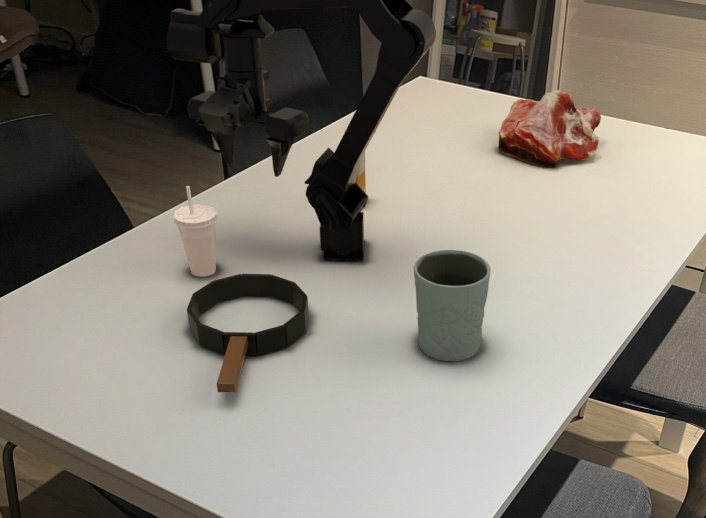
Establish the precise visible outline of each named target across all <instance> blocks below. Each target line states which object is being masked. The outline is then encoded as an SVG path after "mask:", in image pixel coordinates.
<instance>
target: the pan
mask: <svg viewBox="0 0 706 518" xmlns="http://www.w3.org/2000/svg"><path fill="white" fill-rule="evenodd" d="M243 297H267V298H269V297H271V298H274V299H277V300H280V301H282V302H286V303H288V304H291V305H293V306H294V307H295V308H296V309H297V311H299V312H298V313H297V314H295V315H294V316H292V317H291V318H290V319H289V320H287V321H286V322H285V323H283V324H282V325H278V326H274V327H271V328H267V329H263V330H259V331H256V332H242V331H241V332H240V331H239V332H238V331H237V332H236V331H229V332H228V331H223V330H220V329H217V328H215V327H212V326H209V325H206V324H203V323H201V321H200V320H199V319H200V317H201V315H202V314H204V313H205V312H207V311H208V310H210V309H211V308H213V307H214V306H216V305H217V304H218V303H222V302H226V301H230V300H234V299H238V298H243ZM309 313H310V312H309V301H308V295H307V293H305V291H304V290H303V289H302V288H301V287H300V286H299V284H297V283H296V282H295V281H292V280H289V279H286V278H284V277H281V276H277V275H275V274H270V273H238V274H234V275H230V276H226V277H222V278H217V279H214V280H212V281H210V282H208V283H206V284H205V285H204V286H202V287H200V288H199V289H197V290H196V291H195V292H193V293H192V294H191V297H190V300H189V302H188V304H187V308H186V314H187V320H188V327H189V331H190V334H192V336H193V337H194V339H195V341H196V342H197V343H198V345H199V347H201V348H204V349H207V350H209V351H211V352H214V353H217V354H219V355H222V356H223V360H222V364H221V367H220V370H219V374H218V378H217V381H216V390H217V393H232V394H233V393H236V392H237V388H238V383H239V380H240V375H241V373H242V369H243V365H244V361H245V358H246V357H254V358H255V357H261V356H265V355H268V354H272V353H275V352H278V351H282V350H285V349H288V348H289V347H291V346H292V345H293V344H295V343H296V342H297V341H298V340H299V339H300V338H302V337H303V336H304V335H306V334H307V329H308V323H309V318H310V317H309V316H310V315H309Z"/></svg>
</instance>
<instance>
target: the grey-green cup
mask: <svg viewBox="0 0 706 518" xmlns="http://www.w3.org/2000/svg"><path fill="white" fill-rule="evenodd" d="M491 272H492V269H491V266H490V264H489V263H488V261H487V260H486V259H485V258H483V257H482V256H480V255H478V254H476V253H473V252H470V251H466V250H459V249H440V250H435V251H431V252H428V253H425V254H423V255H422V256H420V257H419V258H418V259H416V260H415V263H414V265H413V276H414V277H413V278H414V286H415V298H416V299H415V301H416V303H415V304H416V313H417V317H416V319H417V330H418V331H417V334H418V335H417V337H418V346H419V349H420V350H421V351H422V352H423V354H425V355H426V356H427V357H430V358H431V359H434V360H438V361H443V362H460V361H464V360H468V359H469V358H472V357H473V356H474V355H476V354H477V353H478V352H479V350H480V347H481V342H482V335H483V323H484V317H485V307H486V303H487V299H488V292H489V285H490V277H491Z"/></svg>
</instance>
